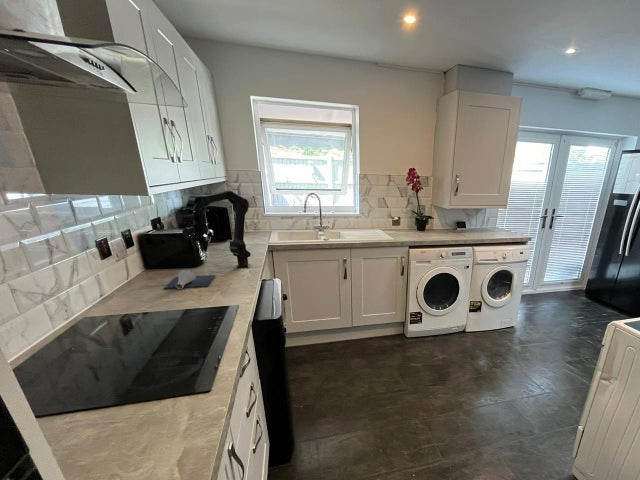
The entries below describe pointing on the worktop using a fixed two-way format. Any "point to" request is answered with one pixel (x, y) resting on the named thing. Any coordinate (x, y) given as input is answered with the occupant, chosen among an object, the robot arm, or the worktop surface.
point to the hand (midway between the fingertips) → (205, 251)
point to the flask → (185, 278)
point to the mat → (198, 282)
